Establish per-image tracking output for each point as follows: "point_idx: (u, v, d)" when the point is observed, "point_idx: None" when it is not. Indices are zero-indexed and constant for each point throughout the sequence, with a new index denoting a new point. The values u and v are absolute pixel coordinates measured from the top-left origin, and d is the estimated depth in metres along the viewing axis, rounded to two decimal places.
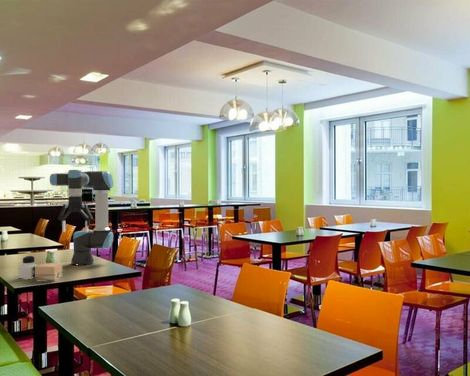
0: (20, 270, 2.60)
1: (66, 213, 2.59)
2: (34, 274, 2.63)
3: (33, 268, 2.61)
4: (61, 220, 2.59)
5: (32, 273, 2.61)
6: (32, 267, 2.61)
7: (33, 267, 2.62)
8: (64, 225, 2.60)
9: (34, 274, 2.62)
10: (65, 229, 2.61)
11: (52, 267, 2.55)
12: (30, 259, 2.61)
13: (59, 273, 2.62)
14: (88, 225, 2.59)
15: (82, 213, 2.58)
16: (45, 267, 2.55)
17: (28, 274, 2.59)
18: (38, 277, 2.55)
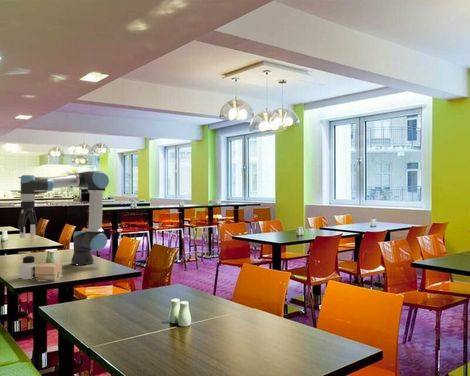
0: (20, 270, 2.60)
1: (29, 217, 2.67)
2: (34, 274, 2.63)
3: (33, 268, 2.61)
4: (31, 223, 2.70)
5: (32, 273, 2.61)
6: (32, 267, 2.61)
7: (33, 267, 2.62)
8: (32, 229, 2.69)
9: (34, 274, 2.62)
10: (34, 233, 2.69)
11: (51, 267, 2.55)
12: (30, 259, 2.61)
13: (59, 273, 2.62)
14: (20, 231, 2.55)
15: None
16: (45, 267, 2.55)
17: (28, 274, 2.59)
18: (38, 277, 2.55)
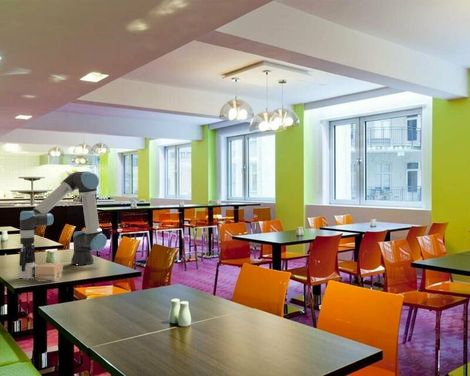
0: (20, 270, 2.60)
1: (28, 254, 2.67)
2: (34, 274, 2.63)
3: (32, 268, 2.61)
4: None
5: (32, 273, 2.61)
6: (32, 267, 2.61)
7: (33, 266, 2.62)
8: None
9: (33, 274, 2.62)
10: None
11: (52, 267, 2.55)
12: (30, 259, 2.61)
13: (59, 273, 2.62)
14: (21, 270, 2.58)
15: None
16: (45, 267, 2.55)
17: (28, 274, 2.59)
18: (38, 277, 2.55)
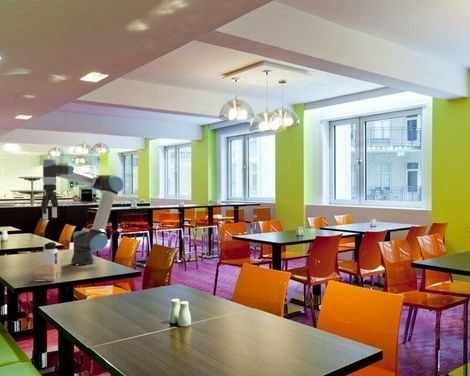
0: (42, 256, 2.56)
1: (51, 200, 2.78)
2: (56, 260, 2.59)
3: (55, 254, 2.58)
4: None
5: (54, 259, 2.57)
6: (54, 253, 2.57)
7: (55, 253, 2.58)
8: (53, 211, 2.80)
9: (56, 260, 2.59)
10: (56, 215, 2.80)
11: (51, 267, 2.54)
12: (52, 245, 2.57)
13: (58, 273, 2.61)
14: (43, 213, 2.66)
15: None
16: (44, 267, 2.54)
17: (50, 261, 2.56)
18: (37, 278, 2.54)
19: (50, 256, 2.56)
